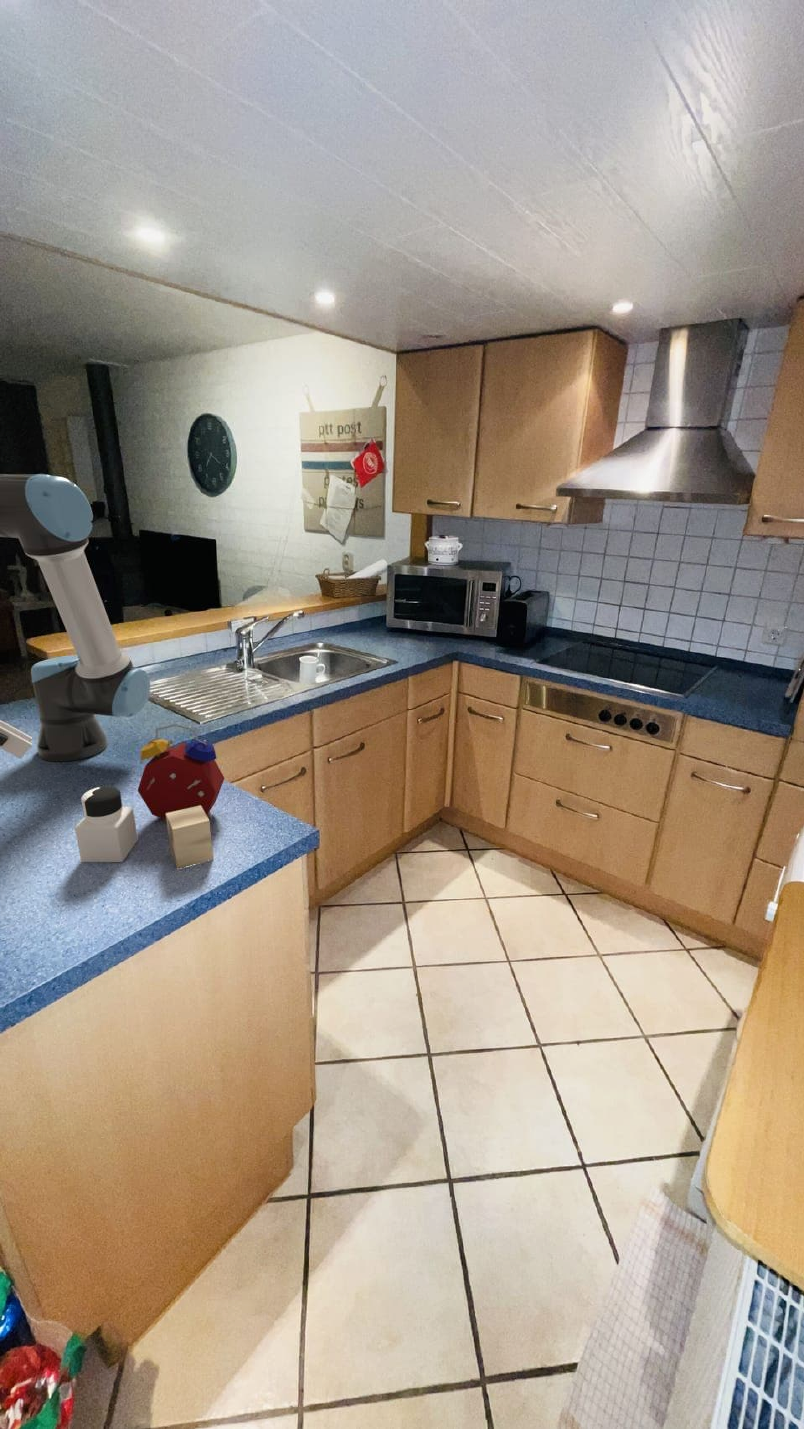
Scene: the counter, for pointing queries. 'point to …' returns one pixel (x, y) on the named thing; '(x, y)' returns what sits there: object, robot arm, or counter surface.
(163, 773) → the alarm clock
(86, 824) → the medicine bottle
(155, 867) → the counter surface
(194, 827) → the beech block
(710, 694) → the counter surface
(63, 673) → the robot arm
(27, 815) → the counter surface
